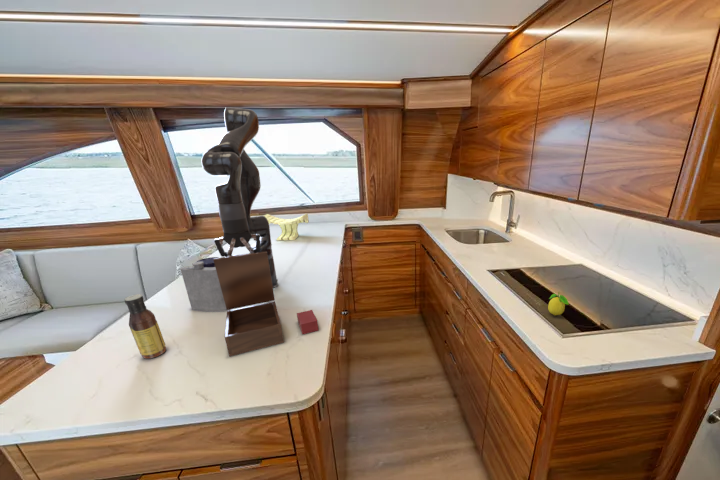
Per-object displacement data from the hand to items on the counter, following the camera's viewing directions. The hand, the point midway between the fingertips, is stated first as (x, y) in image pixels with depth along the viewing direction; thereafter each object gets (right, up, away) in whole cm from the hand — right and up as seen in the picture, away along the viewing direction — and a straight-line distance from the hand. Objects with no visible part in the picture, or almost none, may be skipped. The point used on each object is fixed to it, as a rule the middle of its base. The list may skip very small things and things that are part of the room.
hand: (243, 265), depth 103 cm
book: (+21, -22, +4) cm, 31 cm away
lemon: (+113, -19, +8) cm, 115 cm away
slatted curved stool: (-33, +22, +128) cm, 133 cm away
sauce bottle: (-22, -28, -10) cm, 37 cm away
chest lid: (+1, -6, -1) cm, 6 cm away
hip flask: (-23, -18, +17) cm, 34 cm away
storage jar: (-30, -12, +34) cm, 47 cm away
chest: (+5, -24, -1) cm, 24 cm away
